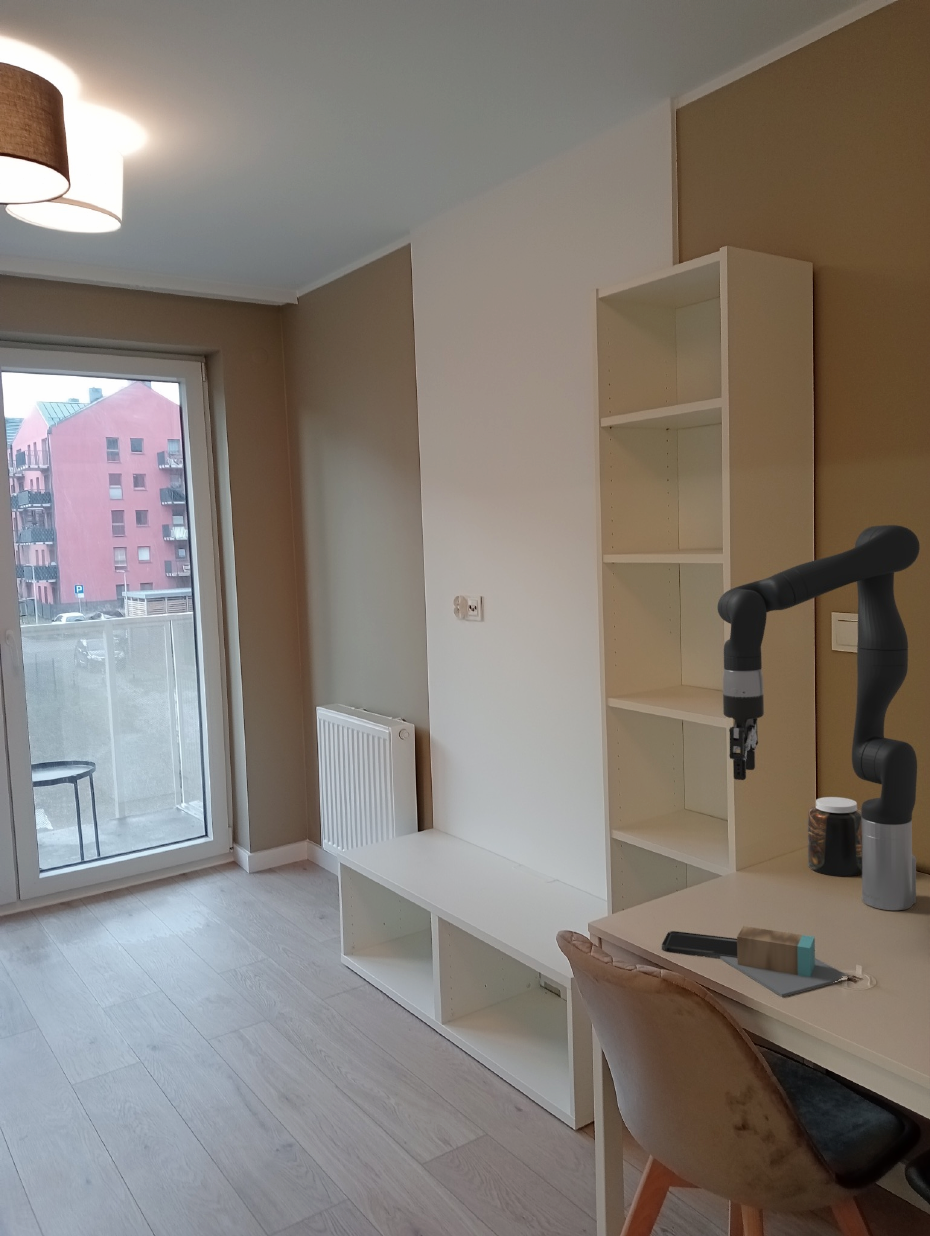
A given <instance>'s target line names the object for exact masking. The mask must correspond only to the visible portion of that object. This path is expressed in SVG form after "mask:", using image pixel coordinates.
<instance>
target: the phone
mask: <svg viewBox="0 0 930 1236" xmlns="http://www.w3.org/2000/svg"><path fill="white" fill-rule="evenodd" d="M661 950H662V952H666V953H674V954H680V953H681V954H680V955H688V956H695V955H697V957H703V956H705V958H712V959H720V956H726V957H734V958H737V938H735V937H726V936H720V935H719V936H718V935H708V934H701V933H692V932H684V931H676V930H671V931H668V932H667V933H666V935H665V937H664V939H663V941H662V943H661ZM720 960H721V959H720Z"/></svg>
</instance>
